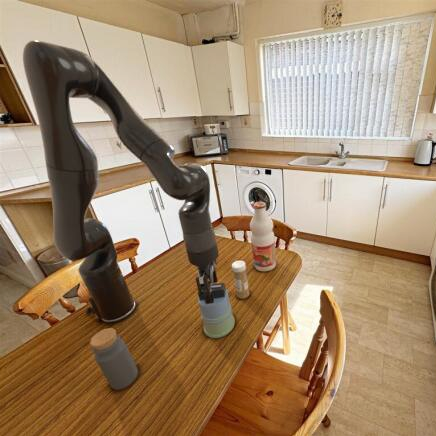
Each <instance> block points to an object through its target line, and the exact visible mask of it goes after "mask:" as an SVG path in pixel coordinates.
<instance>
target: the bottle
mask: <svg viewBox="0 0 436 436" xmlns="http://www.w3.org/2000/svg"><path fill="white" fill-rule="evenodd" d="M89 344H90V346H91V351H92V352H93V354H94V360H95V361H96V363H97V366H98V367H99V369H100V370H101V372H102V374H103V376H104V377H105V379H106V381H107V382H108V384H109V386H110V387H111V388H112V389H113V390H116V391H120V390H123V389H126V388H127V387H129V386H130V385H131V384H133V382H134V381H135V380H136V378H138V375H139V369H138V367H137V365H136V362H135V360H134V358H133V356H132V355H131V352H130V350H129V348H128V346H127V344H126V343H125V340H123V339H122V338H121V337H120V335H119V334H118V333H117V331H116V329H115V328H112V327H108V328H103V329H102V330H100V331H98V332H97V333H95V334H94V335H93V336H92V337H91V339H90V341H89Z"/></svg>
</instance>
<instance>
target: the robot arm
mask: <svg viewBox="0 0 436 436" xmlns="http://www.w3.org/2000/svg"><path fill="white" fill-rule="evenodd" d="M22 63H23V69H24V74H25V77H26V81H27V85H28V88H29V92H30V96H31V99H32V102H33V106H34V109H35V113H36V117H37V121H38V125H39V130H40V134H41V140H42V146H43V153H44V161H45V168H46V174H47V179H48V183H49V188H50V196H51V204H52V222H53V223H52V224H53V225H52V226H53V227H52V232H53V233H52V234H53V236H52V237H53V243H54V246H55V248H56V250H57V252H58V253H59V254H60V256H61V257H62V258H64V259H66V260H67V261H71V262H72V261H73V262H75V261H76V262H77V261H81V260H83V261H82V262H81V264H80V265H79V267H78V269H77V271H78V274H79V276H80V278H81V280H82V282H83V283H84V286H85V288H86V290H87V292H88V294H89V297H88V302H89V303H90V306H88V307H87V308H86V312H85V313H86V314H87V315H88V314H93V315H96V317H97V318H98V320H99V321H100V322H104V323H105V324H115V323H118V322H120V321H122V320H124V319H126V318H128V317H129V316H130V315H132V314H133V312H134V311H135V310H136V307H137V306H136V302H135V301H134V299H133V298H134V297H133V295H132V294H131V291H130V289H129V286H128V284H127V282H126V279H125V277H124V274H123V273H122V270H121V267H120V265H119V263H118V252H117V250H116V249H117V248H116V246H115V244H114V240H113V238H112V235H111V232H110V231H109V229H108V228H107V226H106V225H105V224H104V222H102V221H101V220H99V219H97V218H88V217H87V218H86V214H87V212H88V209H89V207H90V205H91V203H92V201H93V199H94V197H95V194H96V191H97V190H98V187H99V182H100V180H99V177H100V176H99V164H98V163H99V162H98V157H97V154H96V153H95V151H94V150H93V149H92V147H91V146H90V145H89V143H88V142H87V141H86V140H85V138H84V137H83V136H82V135H81V134H80V132H79V131H78V129H77V127H76V126H75V123H74V121H73V117H72V111H71V106H70V105H71V104H70V98H72V99H75V98H76V99H88V100H89V101H91V102H93V104H96V105H97V106H98V107H99V108H101V110H103V111H104V112H105V113H106V114H107V116H108V117H109V119H110V121H111V123H112V126H113V129H114V132H115V134H116V136H117V138H118V140H119V141H120V143H122V145H123V146H124V147H125V148H126V149H127V150H129V152H130V153H131V154H132V155H134V157H136V158H137V159H138V160H139V161H140V162H141V163H142V164H144V165H145V166H146V167H147V169H148V170H149V172H150V174H151V175H152V177H153V178H154V180H155V181H156V183H157V184H158V186H159V187H160V189H161V190H162V191H163V192H164V193H165V194H166V195H167V196H169V197H170V198H172V199H173V200H177V201H184V202H183V204H182V205H181V207H179V210H178V220H179V223H180V227H181V232H182V238H183V243H184V247H185V251H186V255H187V259H188V262H189V263H190V265H192V266H195V267H197V268H196V269H197V270H196V273H197V276H195V282H196V287H197V292H198V291H199V296H200V297H204V300H205V303H206V304H211V303H214V298H213V293H212V284H218V280H219V279H218V276H217V265H218V263H217V260H218V259H219V255H220V252H219V249H218V248H219V247H218V243H217V237H216V233H215V230H214V227H213V222H212V219H211V212H210V202H211V182H210V178H209V175H208V172H207V171H206V169H205V168H204V166H202V164H200V163H197V162H187V163H185V164H182V165H179V166H178V165H176V164H175V162H174V161H173V160H174V158H175V155H176V152H175V149H174V147H173V146H172V144H171V143H169V141H168V140H166V138H164V137H163V136H162V135H161V134H160V133H159V132H158V131H156V129H155V128H153V127H152V126H151V125H150V124H149V123H148V122H147V120H145V119H144V118H143V117H142V116H141V115H140V114H139V112H137V110H136V109H135V108H134V107H133V106H132V105H131V104H130V101H128V100H127V99H126V97H125V95H123V93H122V92H121V91H120V90H119V89H118V88H117V86H116V85H115V83H114V82H113V81H112V80H111V78H110V77H109V76H108V74H107V73H106V72H105V71H104V70H103V69H102V67H101V66H100V65H99V64H98V63H97V62H96V61H95V60H94V59H93V58H92V57H91V56H90V55H88V54H87V53H85V52H83V51H81V50H78V49H75V48H72V47H67V46H62V45H58V44H54V43H51V42H46V41H42V40H34V39H33V40H29V41H28V42H27V43H26V44H25V45H24V47H23V52H22ZM199 296H198V297H199Z"/></svg>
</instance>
